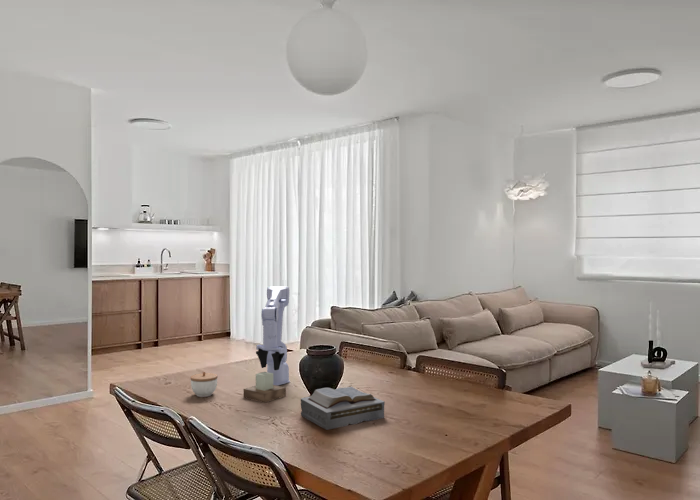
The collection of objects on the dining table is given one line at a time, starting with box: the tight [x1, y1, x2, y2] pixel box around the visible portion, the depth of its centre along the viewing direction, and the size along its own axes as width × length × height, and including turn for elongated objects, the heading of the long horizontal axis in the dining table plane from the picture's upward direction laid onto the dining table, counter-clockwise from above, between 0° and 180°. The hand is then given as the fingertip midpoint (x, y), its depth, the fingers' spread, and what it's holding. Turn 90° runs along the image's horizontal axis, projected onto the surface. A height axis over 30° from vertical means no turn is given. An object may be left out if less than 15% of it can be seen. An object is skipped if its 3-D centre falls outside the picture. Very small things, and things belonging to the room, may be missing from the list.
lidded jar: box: [190, 371, 218, 398], centre depth 228 cm, size 11×11×9 cm
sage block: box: [255, 371, 273, 391], centre depth 224 cm, size 5×5×6 cm
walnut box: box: [243, 385, 287, 403], centre depth 225 cm, size 12×12×4 cm
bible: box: [300, 386, 386, 431], centre depth 199 cm, size 23×27×10 cm
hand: (270, 368), depth 231 cm, fingers open, 7 cm apart
